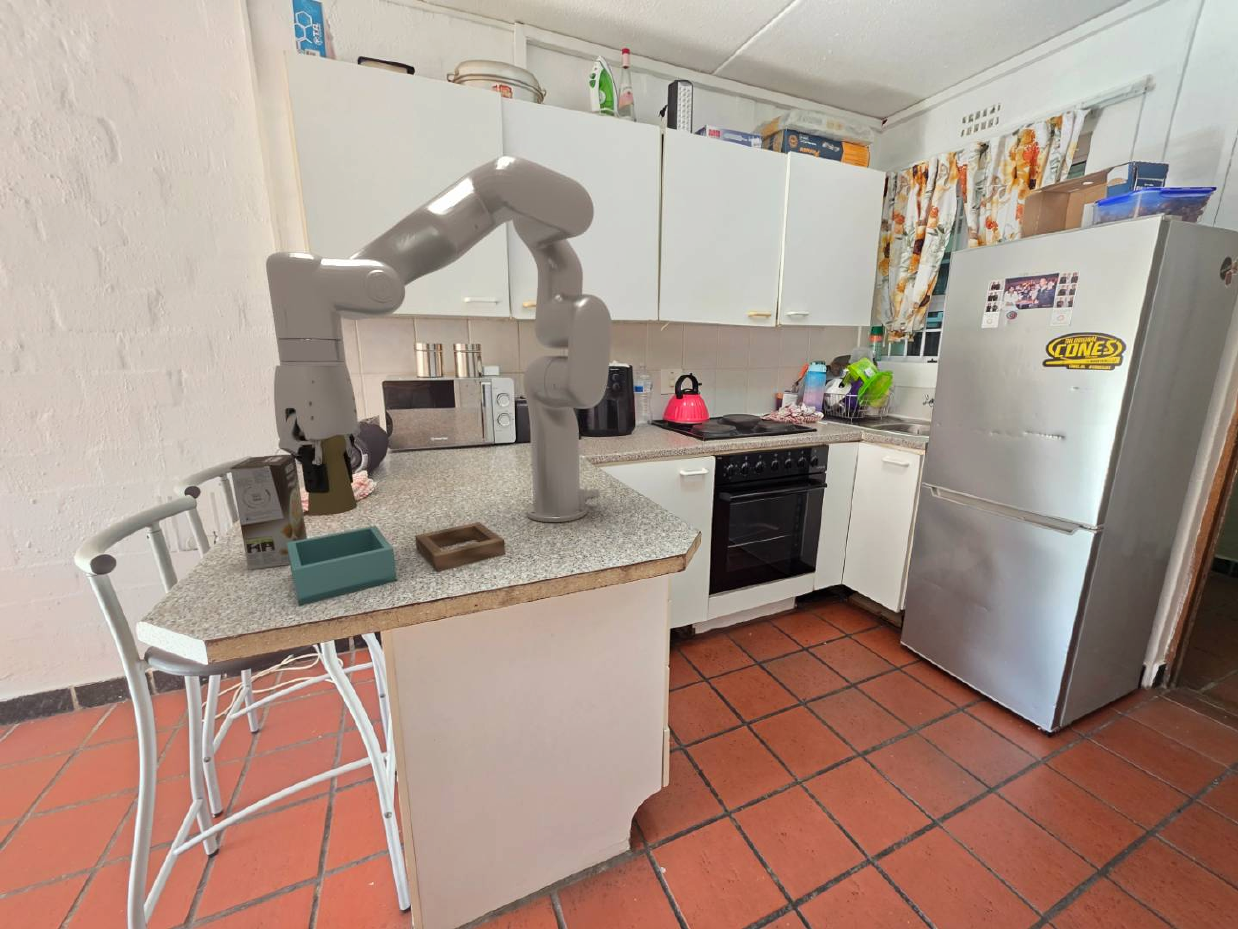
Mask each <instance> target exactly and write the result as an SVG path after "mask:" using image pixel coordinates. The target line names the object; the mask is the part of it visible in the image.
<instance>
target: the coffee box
mask: <svg viewBox="0 0 1238 929" xmlns="http://www.w3.org/2000/svg"><path fill="white" fill-rule="evenodd" d="M229 469H230V473H231V478H232V484H233V490H234V496H235V500H236V501H235V502H236V507H237V514H238V518H239V525H240V529H241V530H240V531H241V537H242V541H243V548H244V552H245V558H246V563H247V569H248V570H250V571H251V570H257V569H266V568H272V567H279V566H282V567H283V566H290V560H289V554H288V548H287V542H292V541H298V540H303V539H308V536H307V528H306V524H305V516H304V515H305V514H304V509H303V500H302V496H301V494H302V493H301V489H300V481H299V480H300V479H299V475H298V468H297V459H296V458H294V457H293V456H292V455H291V454H273V455H265V456H264V455H263V456H252V457H249V458H248V459H245V460H243V461H241V462H239V463H237V464H235V465H233V466H231V467H230V468H229Z"/></svg>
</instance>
